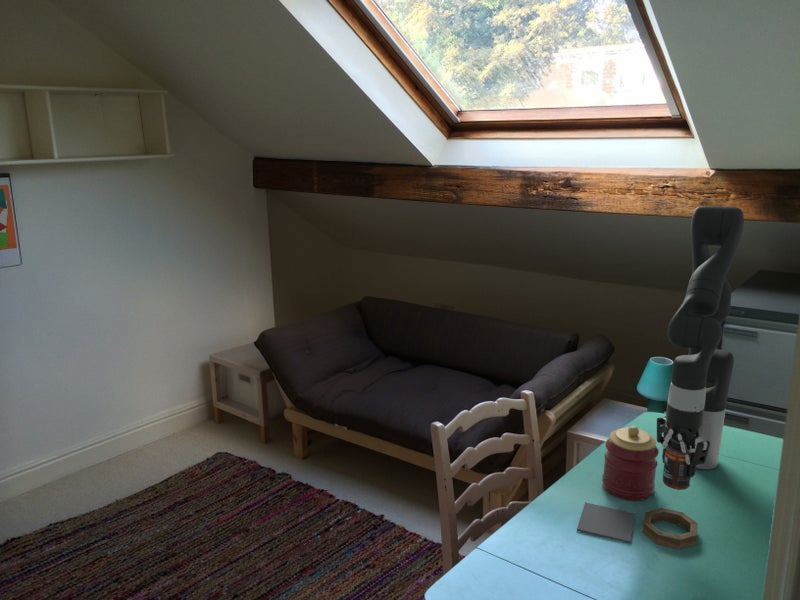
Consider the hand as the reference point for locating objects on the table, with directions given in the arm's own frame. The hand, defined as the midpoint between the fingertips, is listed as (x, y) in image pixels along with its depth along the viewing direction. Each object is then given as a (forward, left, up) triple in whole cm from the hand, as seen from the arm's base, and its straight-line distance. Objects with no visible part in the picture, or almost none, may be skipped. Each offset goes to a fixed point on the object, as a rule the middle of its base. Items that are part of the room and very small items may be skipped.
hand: (677, 469), depth 157 cm
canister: (-16, -11, -17) cm, 26 cm away
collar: (0, 0, -16) cm, 16 cm away
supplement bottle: (0, 0, -4) cm, 4 cm away
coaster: (+2, -14, -16) cm, 22 cm away
